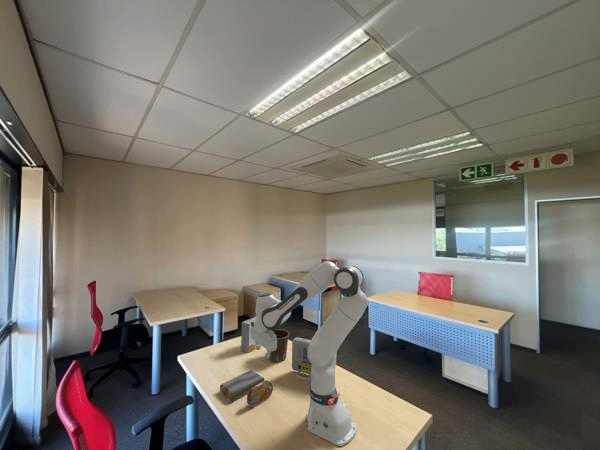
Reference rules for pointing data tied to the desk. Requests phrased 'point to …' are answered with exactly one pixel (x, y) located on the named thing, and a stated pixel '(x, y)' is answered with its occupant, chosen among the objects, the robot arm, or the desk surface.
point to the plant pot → (280, 346)
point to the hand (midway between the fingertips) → (262, 353)
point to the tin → (259, 393)
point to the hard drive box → (247, 337)
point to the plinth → (240, 385)
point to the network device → (301, 357)
